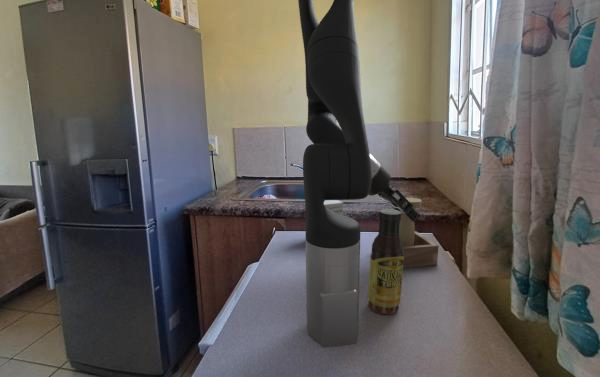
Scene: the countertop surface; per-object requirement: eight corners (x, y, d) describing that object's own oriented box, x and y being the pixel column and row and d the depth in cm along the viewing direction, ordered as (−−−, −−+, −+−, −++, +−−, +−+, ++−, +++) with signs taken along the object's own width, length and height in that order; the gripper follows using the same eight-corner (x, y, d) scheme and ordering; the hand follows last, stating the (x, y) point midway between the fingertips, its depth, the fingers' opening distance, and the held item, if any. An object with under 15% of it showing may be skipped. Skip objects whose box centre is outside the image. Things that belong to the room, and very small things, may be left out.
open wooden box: (437, 264, 88) (438, 245, 87) (395, 268, 86) (395, 249, 85) (415, 247, 99) (416, 231, 98) (377, 250, 97) (378, 234, 96)
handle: (418, 259, 88) (421, 202, 85) (392, 256, 91) (394, 201, 87) (418, 252, 93) (421, 198, 90) (393, 249, 95) (396, 196, 92)
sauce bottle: (375, 318, 65) (378, 217, 61) (362, 301, 71) (365, 208, 67) (407, 313, 66) (412, 214, 62) (392, 297, 72) (396, 206, 68)
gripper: (389, 165, 78) (433, 211, 83) (367, 158, 92) (405, 197, 96) (367, 189, 79) (411, 233, 83) (348, 179, 92) (387, 217, 97)
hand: (408, 214), depth 90 cm, fingers open, 8 cm apart
